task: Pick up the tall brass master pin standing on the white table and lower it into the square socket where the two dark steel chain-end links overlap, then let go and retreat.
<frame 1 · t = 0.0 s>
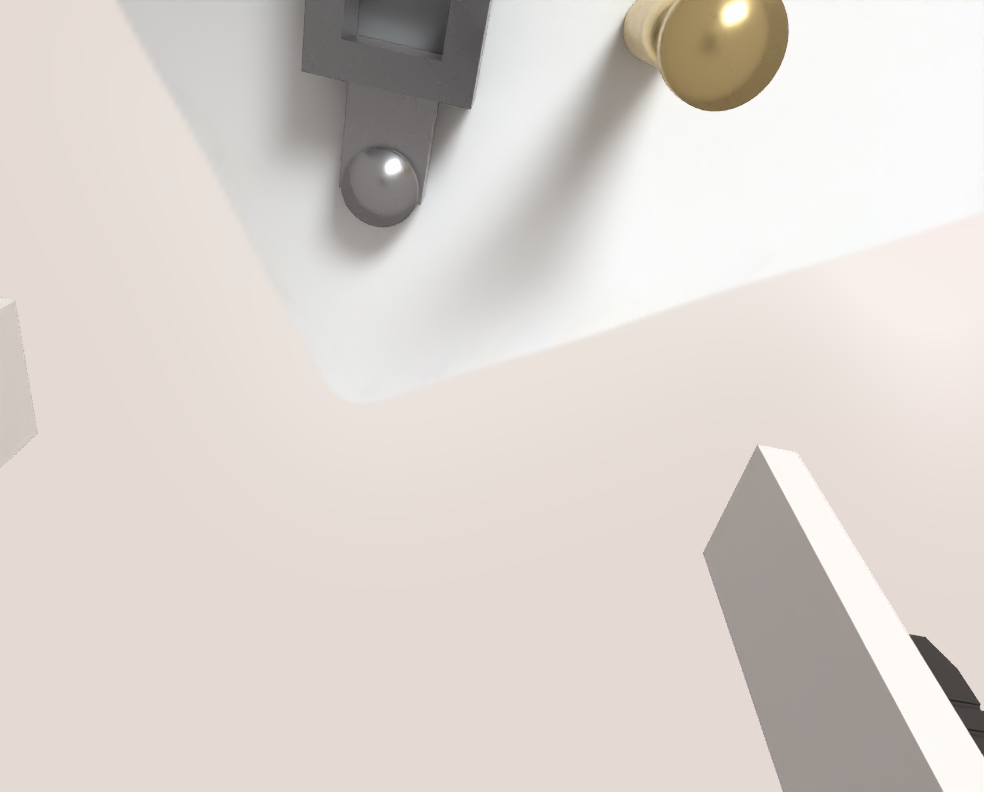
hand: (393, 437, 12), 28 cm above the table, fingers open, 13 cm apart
pin: (654, 27, 33), on the table
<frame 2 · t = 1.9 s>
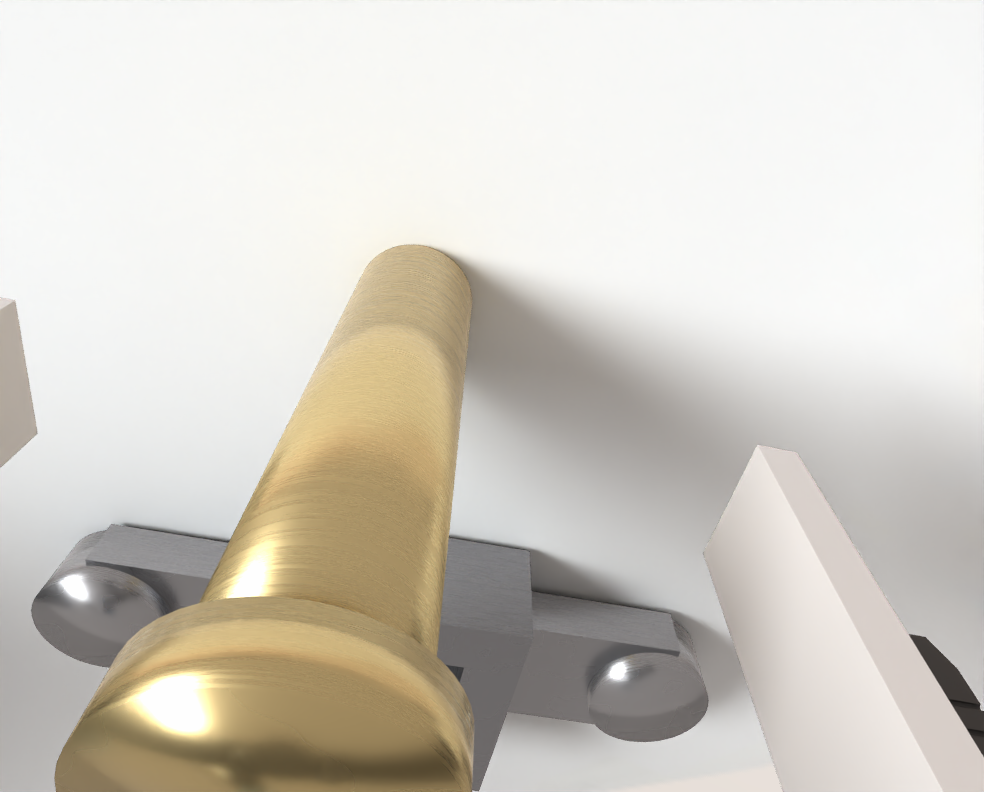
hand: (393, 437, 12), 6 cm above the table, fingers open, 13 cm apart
pin: (415, 300, 18), on the table
chain ends: (393, 614, 24), on the table
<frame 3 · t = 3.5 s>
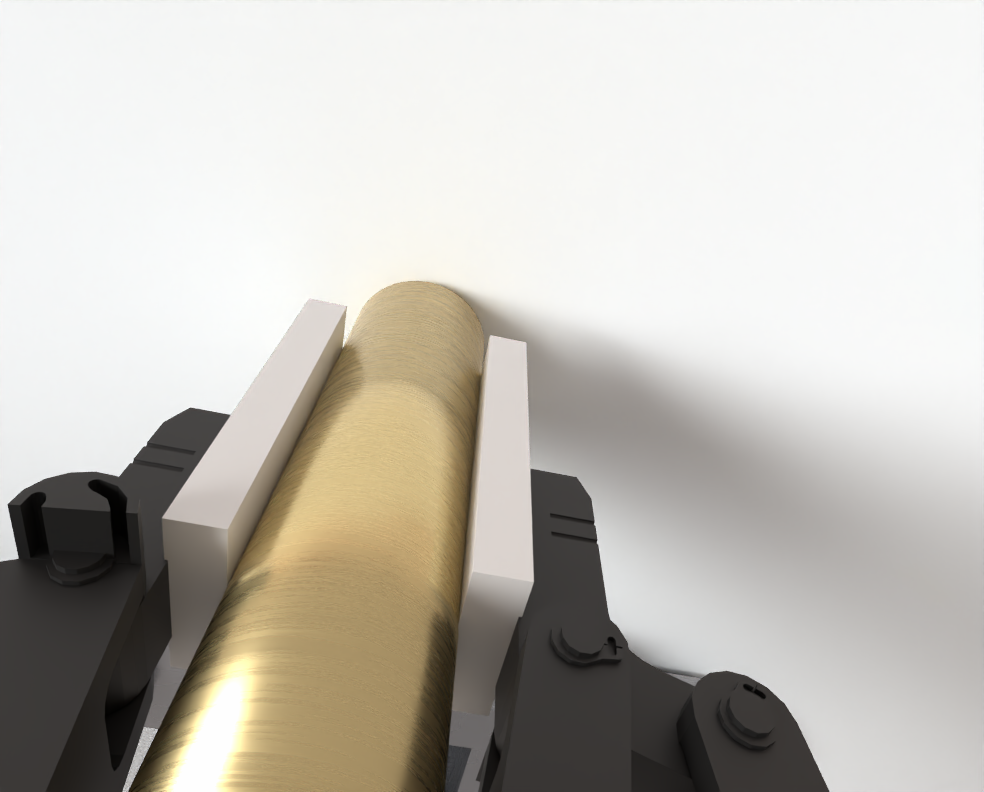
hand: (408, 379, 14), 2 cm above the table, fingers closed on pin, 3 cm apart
pin: (419, 342, 16), on the table, touching gripper
chain ends: (394, 674, 22), on the table
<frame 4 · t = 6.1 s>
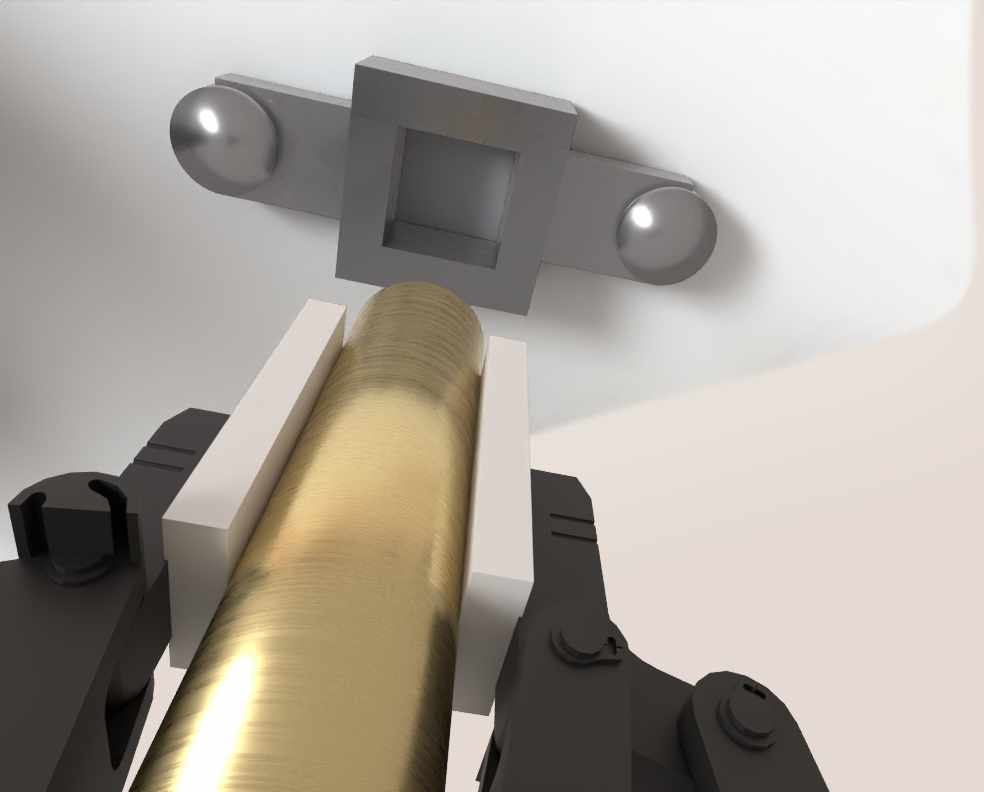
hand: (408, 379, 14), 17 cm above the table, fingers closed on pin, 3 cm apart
pin: (419, 342, 16), point 15 cm above the table, touching gripper
chain ends: (455, 179, 29), on the table
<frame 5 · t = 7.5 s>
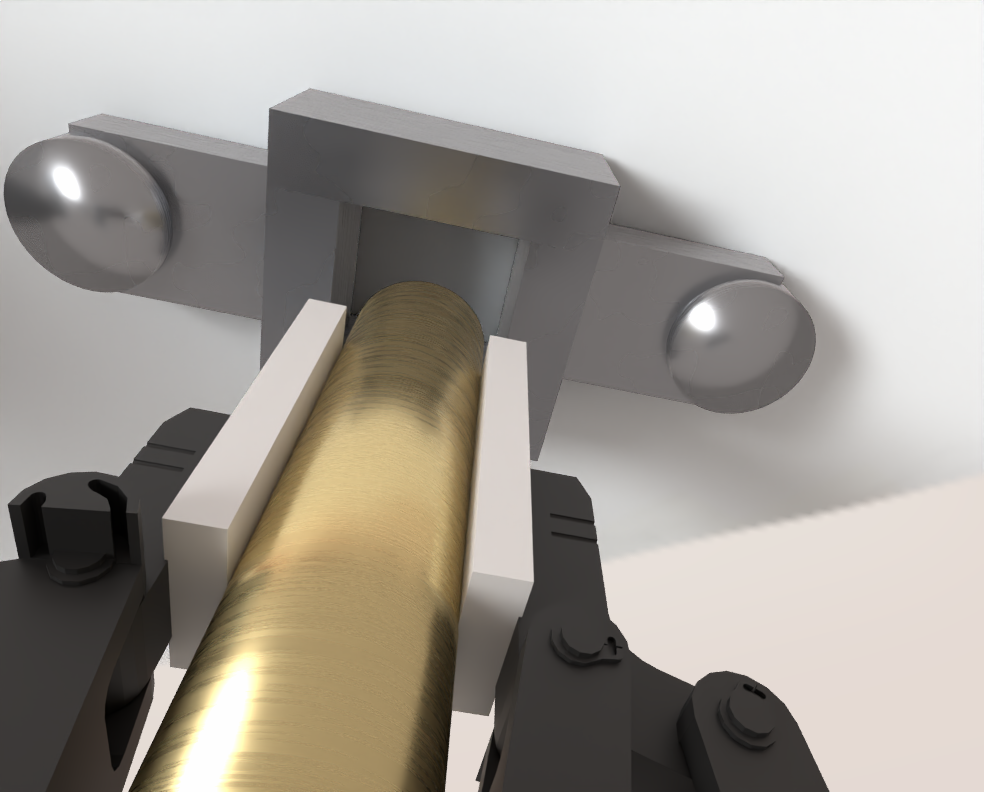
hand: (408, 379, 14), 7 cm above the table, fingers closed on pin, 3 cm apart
pin: (419, 342, 16), point 5 cm above the table, touching gripper
chain ends: (434, 261, 20), on the table
when the fingers open (4 cm above the table, at t = 8.8 s): pin drops 2 cm, resting in chain ends.
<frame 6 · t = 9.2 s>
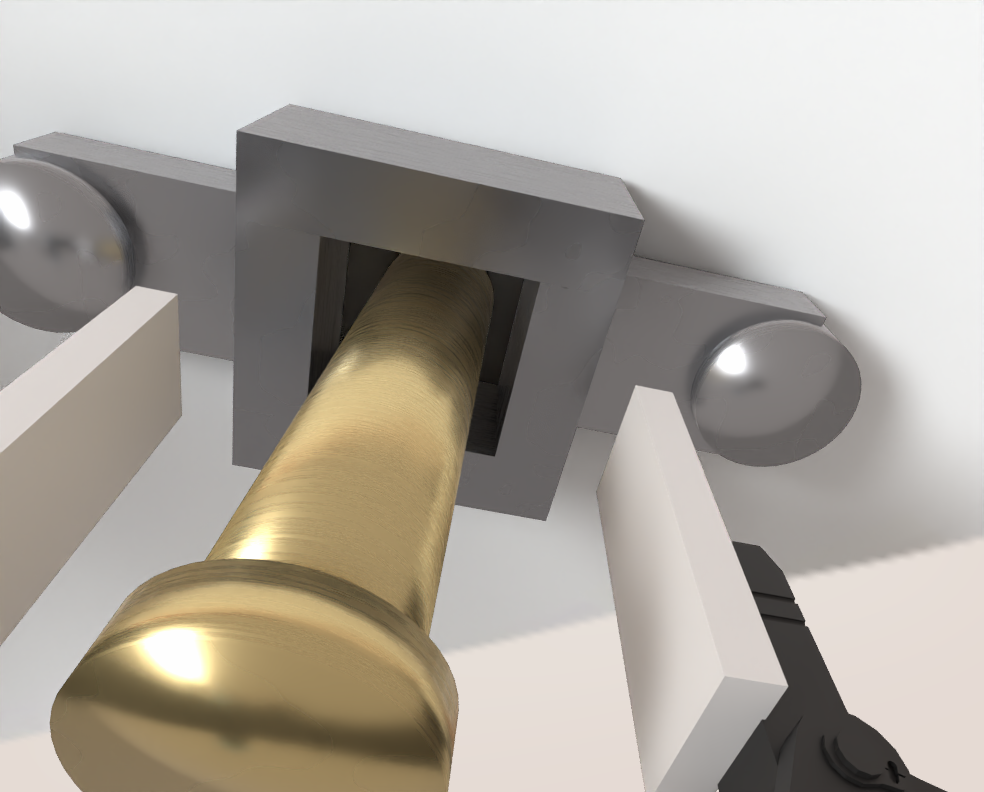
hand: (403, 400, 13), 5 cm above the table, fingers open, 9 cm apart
pin: (437, 297, 18), resting in chain ends
chain ends: (431, 295, 18), on the table
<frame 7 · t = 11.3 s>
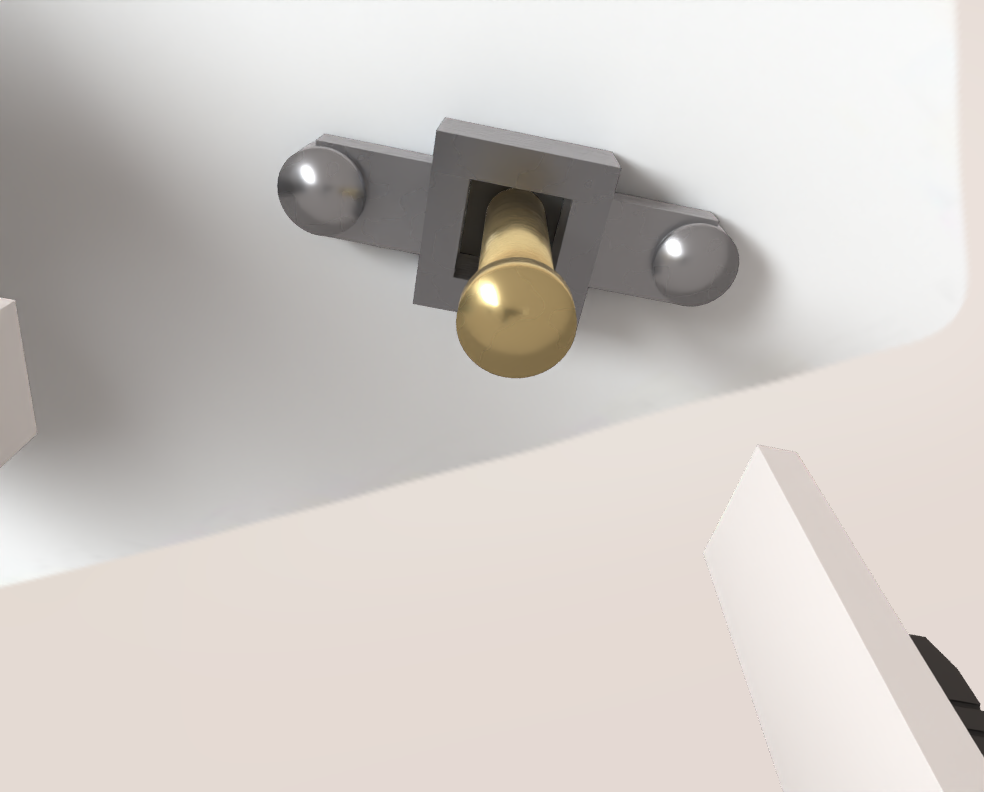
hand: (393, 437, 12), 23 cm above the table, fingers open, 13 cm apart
pin: (515, 218, 34), resting in chain ends
chain ends: (512, 217, 34), on the table
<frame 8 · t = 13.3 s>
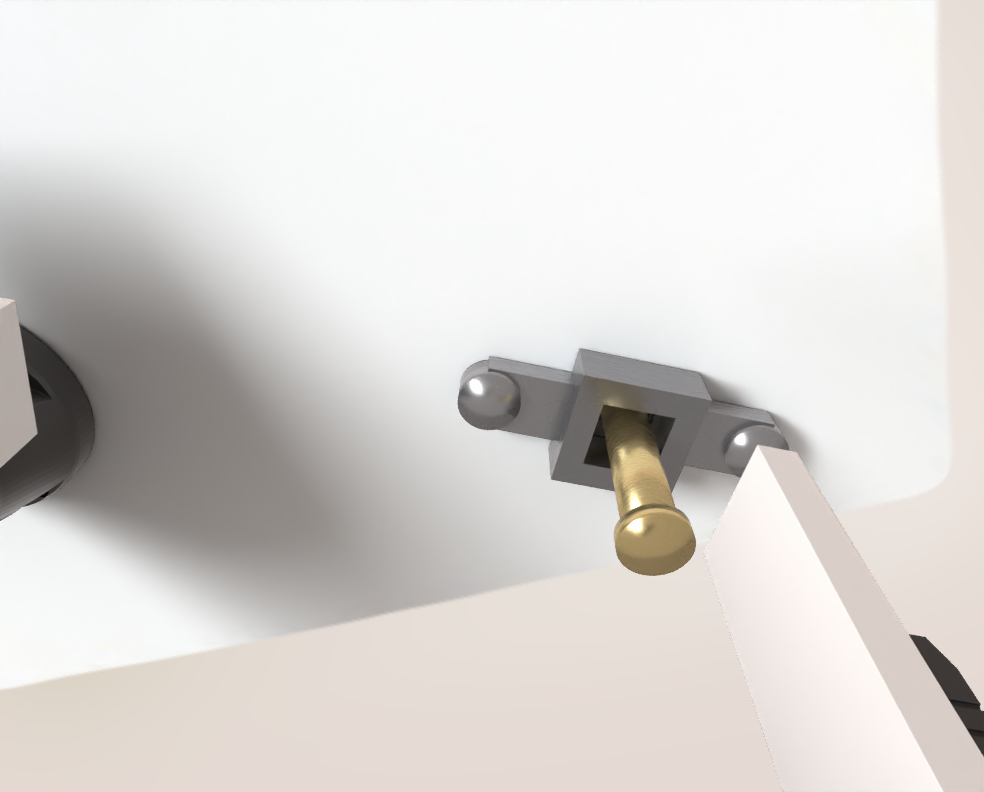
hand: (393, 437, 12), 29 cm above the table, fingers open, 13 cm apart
pin: (623, 412, 46), resting in chain ends
chain ends: (620, 411, 46), on the table
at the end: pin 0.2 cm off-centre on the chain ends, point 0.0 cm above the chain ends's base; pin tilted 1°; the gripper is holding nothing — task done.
